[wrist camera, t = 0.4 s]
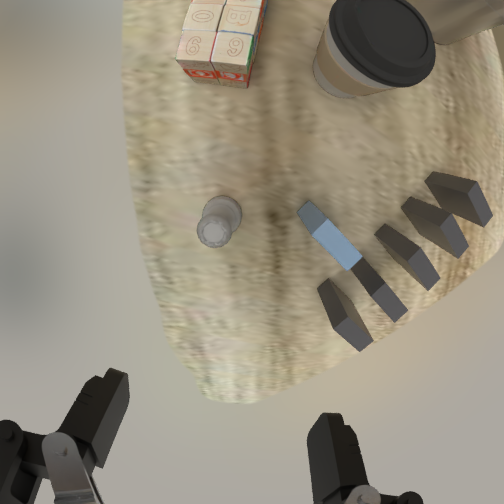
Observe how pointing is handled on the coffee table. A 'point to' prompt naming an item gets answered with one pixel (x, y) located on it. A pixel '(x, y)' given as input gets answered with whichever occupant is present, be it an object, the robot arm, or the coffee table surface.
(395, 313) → the domino
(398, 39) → the coffee cup
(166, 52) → the coffee table surface
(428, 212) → the domino
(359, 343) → the domino
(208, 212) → the rook chess piece
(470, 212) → the domino
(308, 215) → the tile
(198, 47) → the stack of blocks
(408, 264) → the domino
